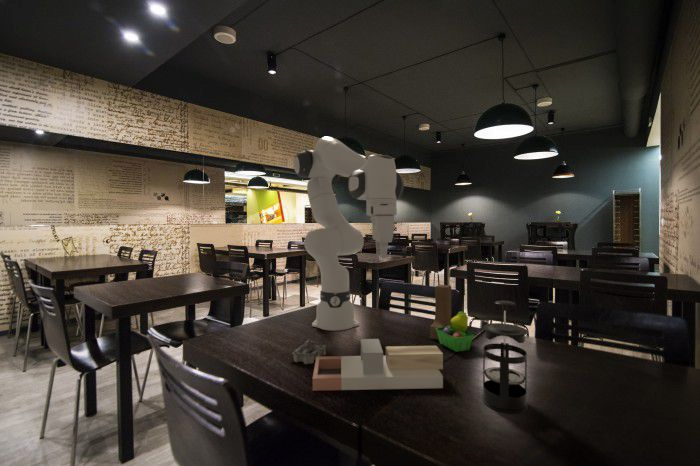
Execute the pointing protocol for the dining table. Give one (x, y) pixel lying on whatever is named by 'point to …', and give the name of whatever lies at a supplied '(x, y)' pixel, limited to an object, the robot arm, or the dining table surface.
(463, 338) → the fruit basket
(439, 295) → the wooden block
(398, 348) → the maple bar
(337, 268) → the robot arm
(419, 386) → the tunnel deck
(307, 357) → the egg carton
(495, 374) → the french press
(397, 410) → the dining table surface
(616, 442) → the dining table surface
